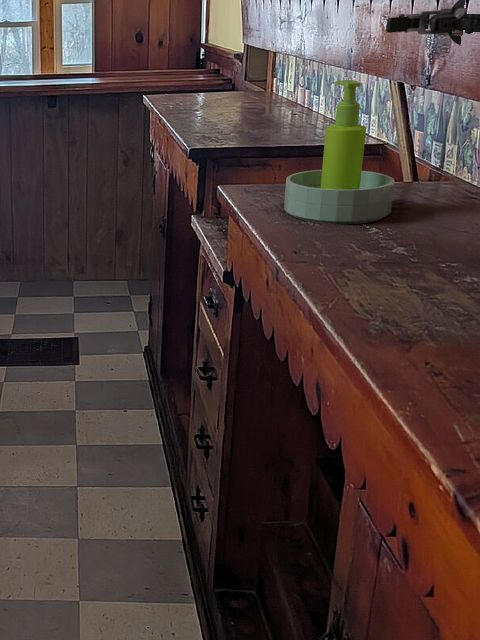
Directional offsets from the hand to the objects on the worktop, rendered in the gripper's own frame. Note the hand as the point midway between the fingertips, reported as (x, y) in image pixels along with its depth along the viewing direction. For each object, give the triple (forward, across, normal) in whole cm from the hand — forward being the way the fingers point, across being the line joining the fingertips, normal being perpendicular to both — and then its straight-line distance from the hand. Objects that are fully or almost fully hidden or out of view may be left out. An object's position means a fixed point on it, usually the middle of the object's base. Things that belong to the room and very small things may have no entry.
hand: (409, 25), depth 131 cm
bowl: (+9, -2, +28) cm, 30 cm away
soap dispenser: (+9, -2, +28) cm, 29 cm away
